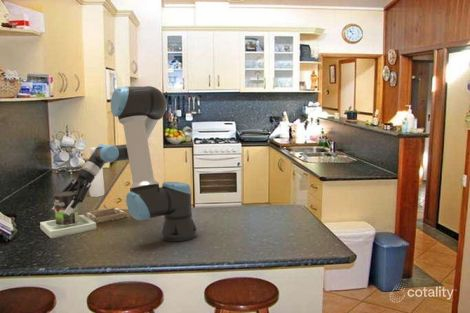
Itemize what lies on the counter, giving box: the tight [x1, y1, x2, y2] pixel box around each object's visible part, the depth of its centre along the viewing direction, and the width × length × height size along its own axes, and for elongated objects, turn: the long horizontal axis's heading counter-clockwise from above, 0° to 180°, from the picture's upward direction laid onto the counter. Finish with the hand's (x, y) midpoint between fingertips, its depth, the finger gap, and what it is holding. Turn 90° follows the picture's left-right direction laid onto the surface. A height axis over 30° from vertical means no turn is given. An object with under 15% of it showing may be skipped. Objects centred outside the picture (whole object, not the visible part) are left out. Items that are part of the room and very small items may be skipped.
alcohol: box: [88, 146, 105, 198], centre depth 282 cm, size 9×9×30 cm
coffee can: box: [52, 191, 79, 226], centre depth 211 cm, size 10×10×14 cm
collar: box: [85, 206, 128, 224], centre depth 230 cm, size 15×15×2 cm
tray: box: [39, 214, 97, 240], centre depth 212 cm, size 20×20×3 cm
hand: (60, 212), depth 209 cm, fingers closed on coffee can, 10 cm apart
